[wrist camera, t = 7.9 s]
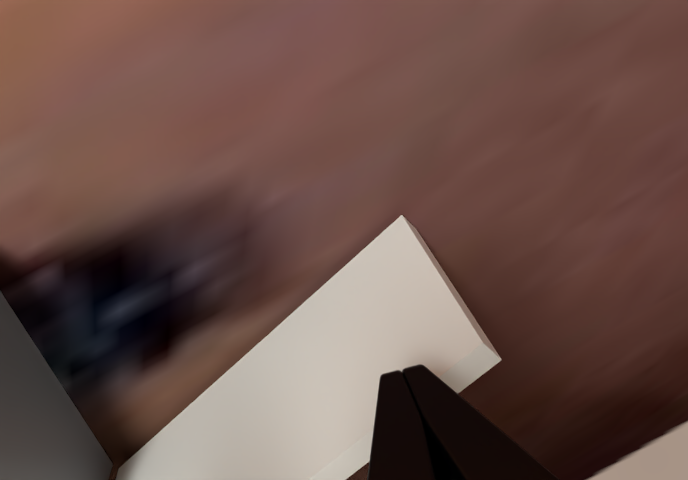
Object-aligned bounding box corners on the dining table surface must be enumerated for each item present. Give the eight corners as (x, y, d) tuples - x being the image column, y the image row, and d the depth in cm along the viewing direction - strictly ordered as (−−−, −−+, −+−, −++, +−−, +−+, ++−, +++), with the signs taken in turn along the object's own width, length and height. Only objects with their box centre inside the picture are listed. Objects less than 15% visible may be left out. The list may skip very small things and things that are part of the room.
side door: (118, 468, 20) (67, 668, 14) (401, 215, 17) (483, 342, 11) (147, 480, 21) (109, 677, 15) (426, 238, 17) (515, 372, 12)
